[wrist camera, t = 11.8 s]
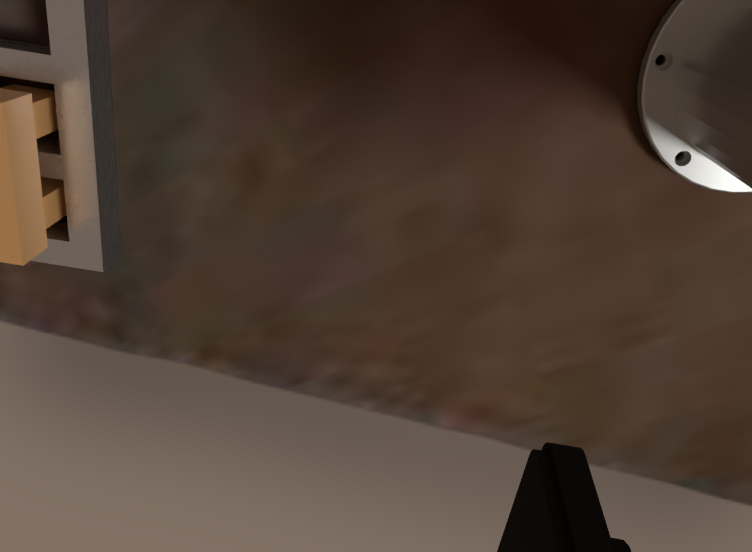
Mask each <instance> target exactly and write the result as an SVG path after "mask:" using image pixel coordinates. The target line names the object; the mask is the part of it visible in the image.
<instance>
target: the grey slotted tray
mask: <svg viewBox="0 0 752 552" xmlns="http://www.w3.org/2000/svg"><path fill="white" fill-rule="evenodd" d="M46 9H47V19H48V30H49V40H50V46H48V45H42V44H36V43H29V42H23V41H16V40H10V39H4V38H0V76H6V77H12V78H19V79H25V80H31V81H38V82H44V83H51V84H54V90H55V101H56V111H57V121H58V131H59V140H54V139H48V138H41V137H40V138H38V139H36V140H37V149H38V159H39V168H40V176H41V177H47V178H54V179H60V180H63V182H64V192H65V202H66V212H67V222H68V223H64V222H56V223H54V224H53V225H51V226H50V227H48V228H47V229H46V234H47V244H48V248H46V249H45V250H44V251H42V252H41V253H40V254H38V255H37V256H36V257H34V258H33V259H32V260H30V261H36V262H43V263H49V264H55V265H62V266H68V267H74V268H81V269H87V270H93V271H100V272H104V271H105V270H106V269H107V268H108V267H109V266H110V265H111V264H112V263H113V262H114V261H116V260H117V259H118V258H119V257H120V256H121V247H120V230H119V212H118V195H117V177H116V160H115V142H114V125H113V108H112V90H111V73H110V55H109V38H108V20H107V3H106V0H46Z"/></svg>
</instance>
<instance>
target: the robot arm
mask: <svg viewBox="0 0 752 552" xmlns="http://www.w3.org/2000/svg"><path fill="white" fill-rule="evenodd" d="M659 55H662V56H663V60H662V62H661V63H659V64H656V63H655V60H656V58H657V57H658V56H659ZM637 100H638V112H639V117H640V121H641V126H642V129H643V131H644V133H645V136H646V138H647V140H648V142H649V144H650V146H651V148H652V149H653V150H654V151H655V153H656V154H657V155H658V156H659V158H660V159H661V160H662V162H664V163H665V164H666V165H667V166H668V167H669V168H670V169H672V170H673V171H674V172H675V173H677V174H678V175H680V176H681V177H683V178H685V179H686V180H688V181H689V182H691V183H693V184H696V185H699V186H702V187H704V188H707V189H710V190H715V191H722V192H728V193H752V0H676V1H675V2H674V4H673V5H672V6H671V7H670V9H669V10H668V11H667V12H666V14H665V15H664V16H663V18H662V19H661V21H660V23H659V25H658V26H657V28H656V30H655V32H654V33H653V35H652V37H651V39H650V41H649V44H648V46H647V49H646V52H645V55H644V57H643V60H642V63H641V68H640V74H639V79H638V85H637ZM679 152H682V153H681V156H680V157H678V158H675V157H676V155H677V154H678V153H679ZM497 552H631V549H630V547H629V546H628V544H626V542H625V541H624V540H620V539H615V538H610V535H609V531H608V528H607V524H606V521H605V518H604V515H603V511H602V508H601V505H600V502H599V498H598V495H597V492H596V489H595V485H594V482H593V479H592V476H591V472H590V469H589V466H588V463H587V459H586V456H585V453H584V451H583V450H582V449H581V448H578V447H572V446H566V445H560V444H554V443H545V444H544V446H543V448H542V450H535V449H534V450H532V451H531V453H530V455H529V458H528V461H527V464H526V467H525V470H524V473H523V476H522V479H521V482H520V485H519V488H518V491H517V494H516V497H515V500H514V503H513V506H512V509H511V512H510V515H509V518H508V521H507V524H506V527H505V530H504V533H503V536H502V539H501V542H500V545H499V548H498V551H497Z"/></svg>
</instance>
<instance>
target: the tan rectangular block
mask: <svg viewBox="0 0 752 552" xmlns="http://www.w3.org/2000/svg"><path fill="white" fill-rule="evenodd" d="M56 130H58V121H57V111H56V101H55V91H52V90H46V89H40V88H34V87H28V86H22V85H16V84H11V85H8V86H4V87H1V88H0V262H4V263H10V264H16V265H22V266H23V265H25V264H26V263H28V262H29V261H30V260H32V259H33V258H34V257H36V256H37V255H38V254H40V253H41V252H42V251H44V250H45V249H46V248H48V244H47V234H46V229H47V228H48V227H50V226H51V225H53V224H54V223H56V222H57V221H58V220H60V219H61V218H63V217H64V216H66V215H67V212H66V202H65V192H64V182H63V180H60V179H54V178H47V177H41V176H40V168H39V159H38V149H37V140H36V139H38V138H40V137H42V136H45V135H47V134H49V133H51V132H54V131H56Z"/></svg>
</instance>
